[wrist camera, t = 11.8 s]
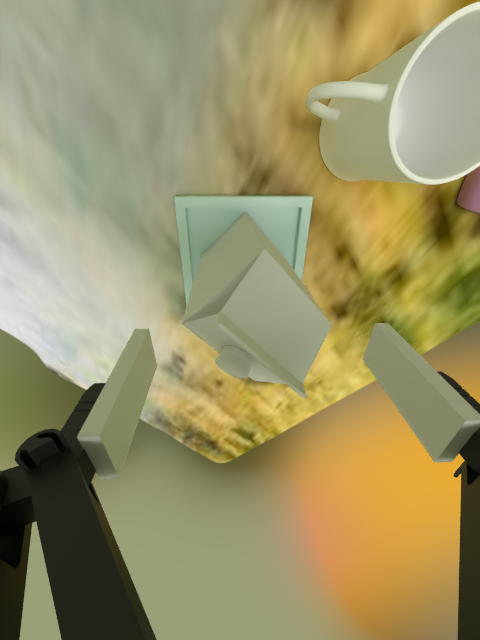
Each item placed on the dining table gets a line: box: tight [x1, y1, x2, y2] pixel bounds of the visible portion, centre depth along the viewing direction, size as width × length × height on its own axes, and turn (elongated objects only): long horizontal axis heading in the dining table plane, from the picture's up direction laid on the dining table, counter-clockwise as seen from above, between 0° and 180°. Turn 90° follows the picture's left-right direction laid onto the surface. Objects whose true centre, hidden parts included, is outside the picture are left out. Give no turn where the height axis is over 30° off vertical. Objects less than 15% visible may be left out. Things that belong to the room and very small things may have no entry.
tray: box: [174, 195, 313, 306], centre depth 30 cm, size 14×14×2 cm
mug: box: [306, 2, 480, 184], centre depth 19 cm, size 12×8×12 cm
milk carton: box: [182, 212, 332, 398], centre depth 21 cm, size 7×7×19 cm
